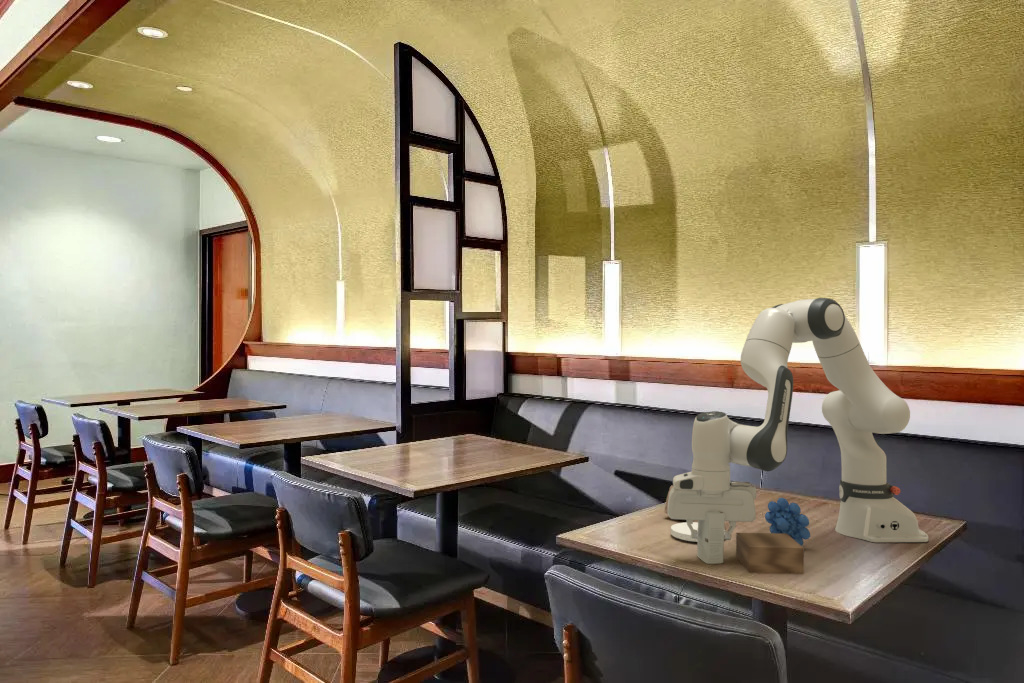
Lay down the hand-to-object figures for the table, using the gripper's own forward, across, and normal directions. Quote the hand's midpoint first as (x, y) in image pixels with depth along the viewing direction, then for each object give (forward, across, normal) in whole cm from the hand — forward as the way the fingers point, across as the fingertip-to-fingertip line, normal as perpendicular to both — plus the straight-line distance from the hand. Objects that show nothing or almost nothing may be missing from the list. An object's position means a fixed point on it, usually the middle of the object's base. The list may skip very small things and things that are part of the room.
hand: (710, 538), depth 172 cm
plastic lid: (+6, +1, -20) cm, 21 cm away
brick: (+5, +1, -34) cm, 34 cm away
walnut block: (+5, -13, +1) cm, 14 cm away
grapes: (+5, -20, -15) cm, 25 cm away
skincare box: (+5, 0, 0) cm, 5 cm away
